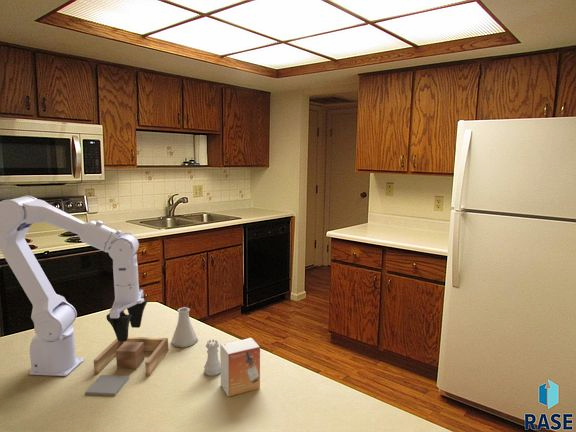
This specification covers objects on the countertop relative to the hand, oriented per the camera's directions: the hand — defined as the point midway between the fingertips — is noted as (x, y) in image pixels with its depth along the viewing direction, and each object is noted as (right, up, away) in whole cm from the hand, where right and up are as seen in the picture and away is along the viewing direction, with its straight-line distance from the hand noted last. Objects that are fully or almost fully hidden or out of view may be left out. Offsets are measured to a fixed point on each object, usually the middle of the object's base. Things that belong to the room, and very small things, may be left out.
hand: (129, 333), depth 102 cm
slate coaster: (-2, -10, -8) cm, 13 cm away
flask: (+11, -7, +14) cm, 19 cm away
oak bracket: (0, -8, +2) cm, 8 cm away
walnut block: (0, -8, +1) cm, 9 cm away
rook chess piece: (+22, -9, -2) cm, 24 cm away
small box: (+29, -10, -8) cm, 32 cm away
